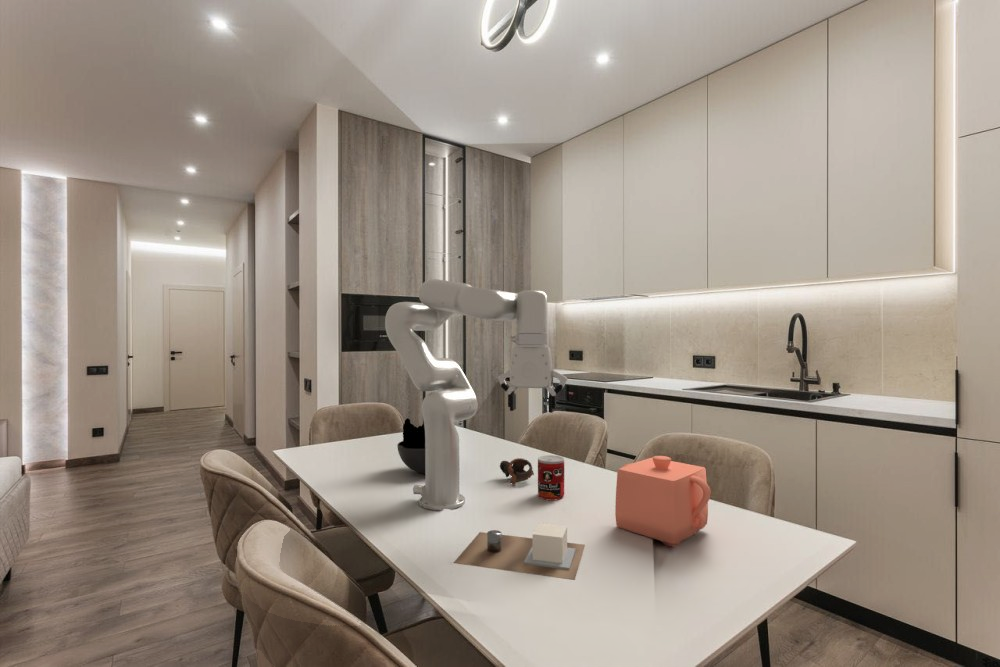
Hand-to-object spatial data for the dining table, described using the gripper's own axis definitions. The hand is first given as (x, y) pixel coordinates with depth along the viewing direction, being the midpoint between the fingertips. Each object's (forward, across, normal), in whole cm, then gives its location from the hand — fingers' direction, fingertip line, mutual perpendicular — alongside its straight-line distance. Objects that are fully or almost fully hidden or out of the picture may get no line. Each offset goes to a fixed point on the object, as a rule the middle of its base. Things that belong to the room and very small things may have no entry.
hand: (531, 411), depth 118 cm
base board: (+28, +2, -18) cm, 34 cm away
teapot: (+29, +32, +9) cm, 44 cm away
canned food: (+28, 0, +25) cm, 38 cm away
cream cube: (+26, +8, -18) cm, 33 cm away
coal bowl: (+28, -46, +38) cm, 66 cm away
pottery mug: (+29, -14, +37) cm, 49 cm away
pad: (+27, +8, -18) cm, 33 cm away
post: (+27, -4, -18) cm, 33 cm away
